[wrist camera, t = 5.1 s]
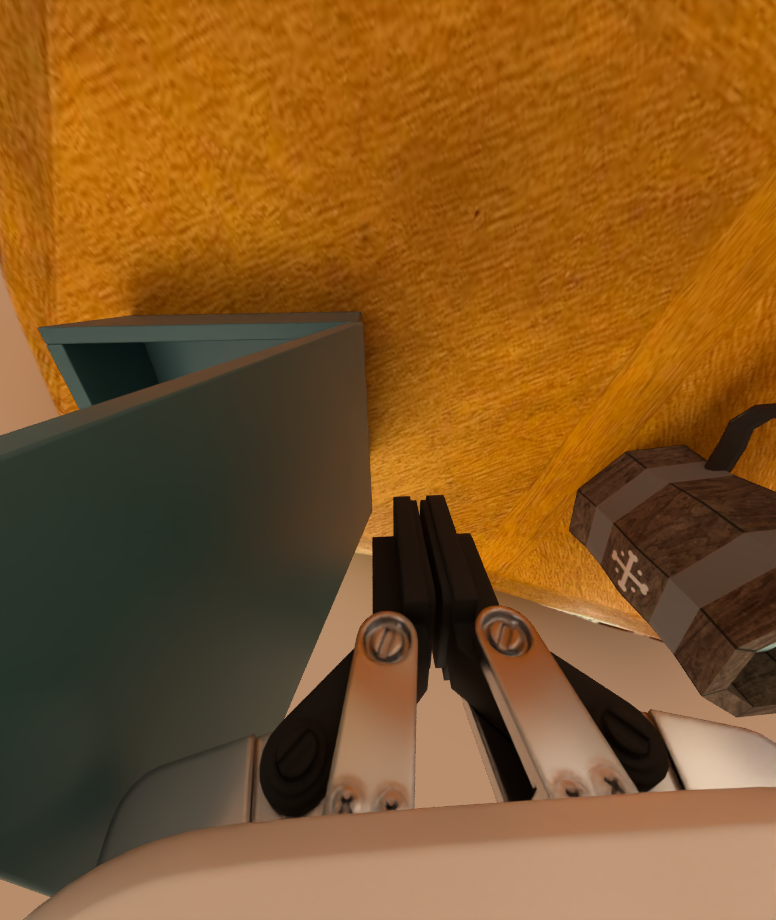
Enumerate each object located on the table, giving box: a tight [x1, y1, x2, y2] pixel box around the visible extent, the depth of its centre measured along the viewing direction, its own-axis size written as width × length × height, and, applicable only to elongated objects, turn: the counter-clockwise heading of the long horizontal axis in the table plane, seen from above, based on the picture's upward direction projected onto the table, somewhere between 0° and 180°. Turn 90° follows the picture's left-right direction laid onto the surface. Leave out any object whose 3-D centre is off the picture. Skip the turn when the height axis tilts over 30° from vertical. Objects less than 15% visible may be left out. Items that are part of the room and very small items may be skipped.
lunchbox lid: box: [0, 322, 372, 897], centre depth 11 cm, size 16×12×1 cm
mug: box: [569, 403, 776, 717], centre depth 23 cm, size 20×14×15 cm
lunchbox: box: [38, 311, 361, 410], centre depth 21 cm, size 16×12×7 cm
